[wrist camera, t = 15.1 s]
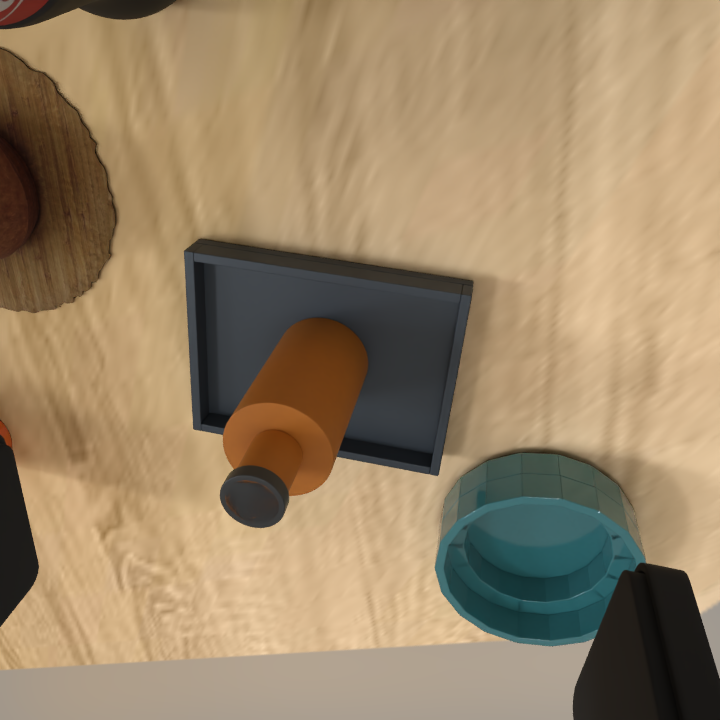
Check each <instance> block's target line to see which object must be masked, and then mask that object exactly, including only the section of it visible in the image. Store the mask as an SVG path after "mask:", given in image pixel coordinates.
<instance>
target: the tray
mask: <svg viewBox="0 0 720 720" xmlns="http://www.w3.org/2000/svg"><path fill="white" fill-rule="evenodd" d="M184 259H185V278H186V297H187V317H188V336H189V355H190V375H191V394H192V413H193V429H194V430H200V431H201V430H202V431H205V432H211V433H216V434H221V435H223V433H224V429H225V426H226V424H227V422H228V420H229V419H230V417H231V416H232V414H233V413H234V411H235V409H236V408H237V406H238V405H239V403H240V402H241V400H242V399H243V397H244V395H245V394H246V392H247V391H248V389H249V388H250V386H251V385H252V383H253V381H254V380H255V378H256V377H257V375H258V374H259V372H260V371H261V369H262V367H263V366H264V364H265V363H266V361H267V360H268V358H269V357H270V355H271V353H272V352H273V350H274V349H275V347H276V346H277V344H278V343H279V341H280V339H281V338H282V336H283V335H284V333H285V332H286V331H287V330H288V329H289V328H290V327H291V326H292V325H294V324H295V323H297V322H299V321H301V320H305V319H309V318H326V319H331V320H334V321H337V322H339V323H341V324H343V325H345V326H346V327H348V328H349V329H350V330H352V331H353V332H354V333H355V334H356V335H357V336H358V338H359V339H360V340H361V342H362V344H363V345H364V347H365V350H366V353H367V356H368V370H367V374H366V377H365V380H364V383H363V385H362V388H361V391H360V394H359V396H358V399H357V402H356V405H355V407H354V410H353V413H352V416H351V418H350V421H349V424H348V427H347V429H346V432H345V435H344V438H343V440H342V443H341V446H340V449H339V451H338V454H337V457H341V458H346V459H352V460H357V461H362V462H367V463H373V464H378V465H383V466H388V467H393V468H399V469H404V470H409V471H414V472H420V473H425V474H429V473H430V475H435V476H438V475H439V470H440V464H441V459H442V454H443V448H444V443H445V438H446V432H447V427H448V422H449V416H450V411H451V406H452V400H453V395H454V389H455V384H456V379H457V373H458V368H459V363H460V357H461V352H462V347H463V341H464V336H465V330H466V325H467V320H468V314H469V309H470V304H471V298H472V291H473V281H470V280H463V279H457V278H450V277H444V276H437V275H431V274H424V273H418V272H411V271H405V270H398V269H392V268H385V267H379V266H372V265H366V264H359V263H353V262H346V261H340V260H333V259H327V258H320V257H314V256H307V255H301V254H294V253H288V252H281V251H275V250H268V249H262V248H255V247H249V246H242V245H236V244H229V243H223V242H216V241H210V240H203V239H199V240H197V241H196V242H195V243H193V244H192V245H191V246H190V247H188V248H187V249H186V250H185V251H184Z"/></svg>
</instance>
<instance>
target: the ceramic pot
mask: <svg viewBox="0 0 720 720" xmlns="http://www.w3.org/2000/svg"><path fill="white" fill-rule="evenodd" d="M95 147H96V143H95V142H93V141H92V140H91V139H90V138H89V131H88V130H87V129H86V128H85V126H84V125H83V124H82V123H81V120H80V118H79V116H78V113H77V111H76V110H74V109H73V108H72V107H70V106H69V105H68V104H67V103H66V102H65V100H64V99H63V98H62V97H61V96H60V95H59V94H58V93H57V91H56V88H55V85H54V84H53V82H52V81H51V80H50V79H49V78H47V77H46V76H45V75H44V74H43V73H40V72H34V71H32V70H30V69H28V68H27V67H26V65H25V64H24V63H23V62H22V61H20V60H19V59H17V58H16V57H14V56H13V55H12V54H10V53H9V52H8V51H5V50H2V49H0V307H1V308H5V309H8V310H13V311H18V312H19V311H28V312H31V313H37V312H39V311H42V310H54V309H56V308H55V307H54V306H59V307H61V306H60V304H62V303H63V302H65V303H72V302H73V296H74V297H76V295H77V296H79V297H80V296H82V292H83V290H84V291H87V290H89V289H90V287H91V282H96V281H97V278H98V273H99V271H100V270H101V269H102V267H103V265H104V263H105V262H106V261H107V260H108V259H109V258H110V256H111V255H110V254H109V253H108V251H109V240H110V239H111V238H112V236H113V235H112V230H113V229H114V227H115V215H114V208H113V206H112V196H111V194H110V193H109V191H108V188H107V177H106V173H105V170H104V168H103V166H102V165H101V164H100V162H99V161H98V158H97V156H96V154H95Z"/></svg>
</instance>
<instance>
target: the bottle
mask: <svg viewBox="0 0 720 720" xmlns="http://www.w3.org/2000/svg"><path fill="white" fill-rule="evenodd" d="M367 370H368V356H367V353H366V350H365V347H364V345H363V344H362V342H361V340H360V339H359V338H358V336H357V335H356V334H355V333H354V332H353V331H352V330H350V329H349V328H348V327H346V326H345V325H343V324H341V323H339V322H337V321H334V320H331V319H326V318H309V319H305V320H301V321H299V322H297V323H295V324H294V325H292V326H291V327H290V328H289V329H288V330H287V331H286V332H285V333H284V335H283V336H282V338H281V339H280V341H279V343H278V344H277V346H276V347H275V349H274V350H273V352H272V353H271V355H270V357H269V358H268V360H267V361H266V363H265V364H264V366H263V367H262V369H261V371H260V372H259V374H258V375H257V377H256V378H255V380H254V381H253V383H252V385H251V386H250V388H249V389H248V391H247V392H246V394H245V395H244V397H243V399H242V400H241V402H240V403H239V405H238V406H237V408H236V409H235V411H234V413H233V414H232V416H231V417H230V419H229V420H228V422H227V424H226V426H225V429H224V433H223V447H224V451H225V454H226V456H227V459H228V461H229V462H230V464H231V466H232V467H233V468H234V470H233V471H231V473H230V474H229V475H228V476H227V478H226V480H225V482H224V483H223V485H222V487H221V490H220V500H221V503H222V505H223V507H224V509H225V510H226V512H227V513H228V514H229V515H230V516H231V517H232V518H234V519H235V520H236V521H238V522H240V523H242V524H244V525H247V526H250V527H255V528H265V527H270V526H272V525H275V524H276V523H278V522H279V521H280V520H281V519H282V517H283V515H284V513H285V511H286V508H287V506H288V503H289V496H296V495H302V494H305V493H309V492H311V491H313V490H315V489H317V488H318V487H320V486H321V485H322V484H323V483H324V482H325V481H326V480H327V478H328V477H329V475H330V473H331V470H332V468H333V465H334V462H335V459H336V457H337V454H338V451H339V449H340V446H341V443H342V440H343V438H344V435H345V432H346V429H347V427H348V424H349V421H350V418H351V416H352V413H353V410H354V407H355V405H356V402H357V399H358V396H359V394H360V391H361V388H362V385H363V383H364V380H365V377H366V374H367Z"/></svg>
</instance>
